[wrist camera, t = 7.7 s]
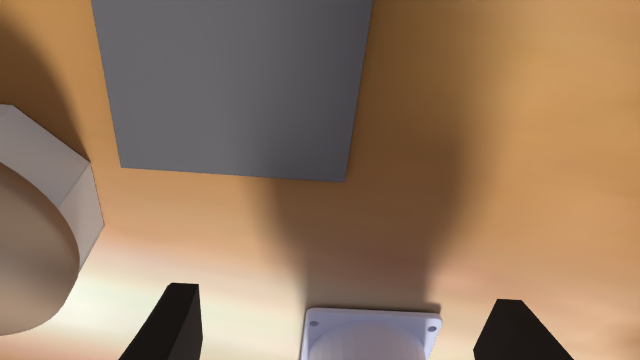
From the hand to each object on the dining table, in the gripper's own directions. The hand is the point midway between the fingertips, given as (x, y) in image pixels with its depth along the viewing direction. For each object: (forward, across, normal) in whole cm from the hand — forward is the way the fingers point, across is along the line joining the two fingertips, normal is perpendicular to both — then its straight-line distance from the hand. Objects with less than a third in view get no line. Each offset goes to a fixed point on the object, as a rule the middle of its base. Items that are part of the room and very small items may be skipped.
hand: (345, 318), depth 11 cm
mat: (+10, +4, -2) cm, 11 cm away
